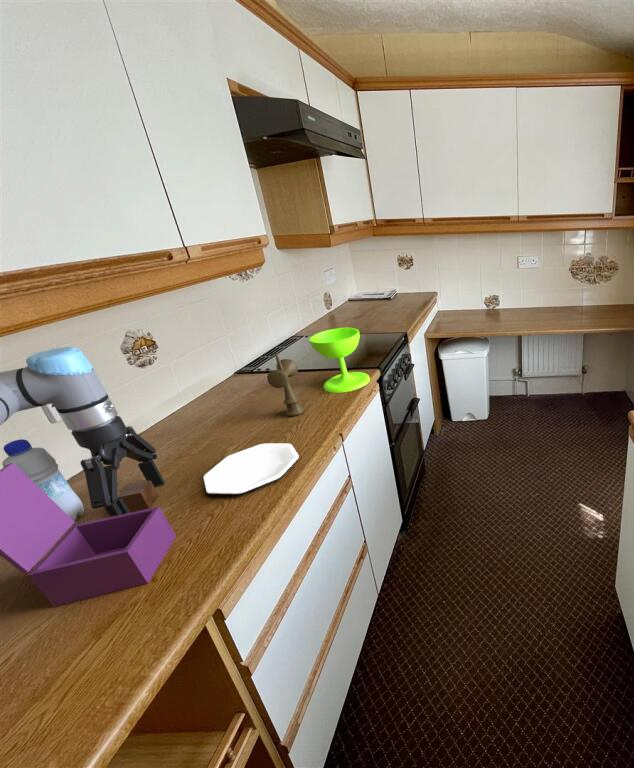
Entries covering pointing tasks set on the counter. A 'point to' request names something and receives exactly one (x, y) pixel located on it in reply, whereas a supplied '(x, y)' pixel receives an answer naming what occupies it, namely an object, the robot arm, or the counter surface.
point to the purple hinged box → (104, 556)
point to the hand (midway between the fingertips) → (143, 503)
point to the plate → (250, 468)
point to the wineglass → (340, 357)
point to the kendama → (286, 384)
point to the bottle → (44, 475)
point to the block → (139, 496)
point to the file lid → (27, 520)
